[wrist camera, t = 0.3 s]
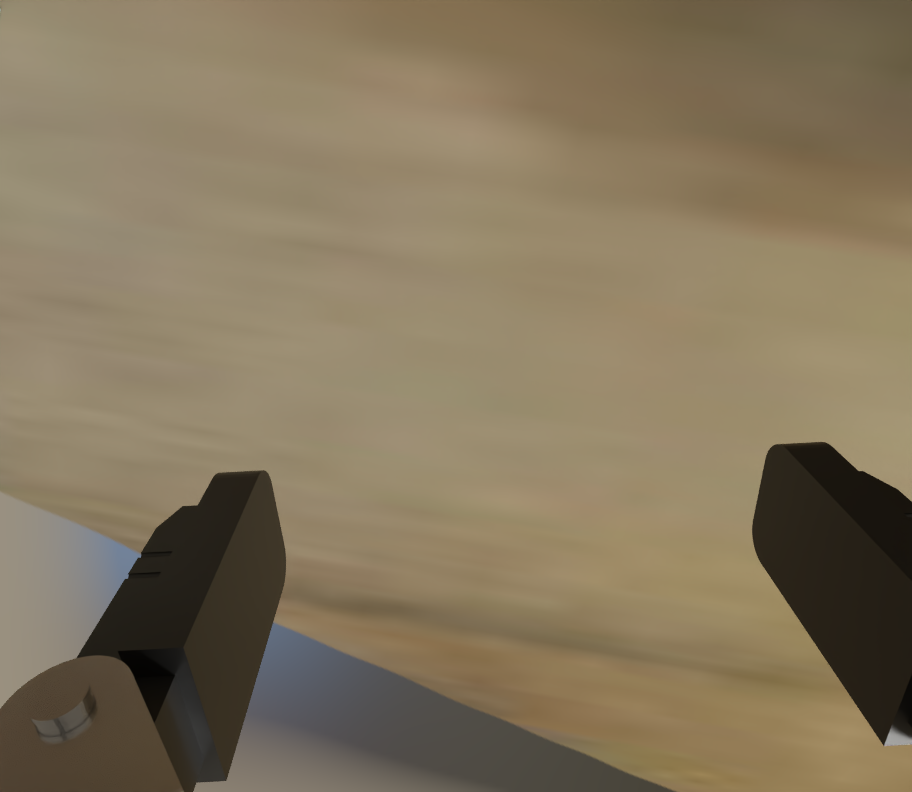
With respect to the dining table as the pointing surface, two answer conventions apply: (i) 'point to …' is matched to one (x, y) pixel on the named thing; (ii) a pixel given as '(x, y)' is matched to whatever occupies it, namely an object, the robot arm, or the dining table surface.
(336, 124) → the dining table surface
